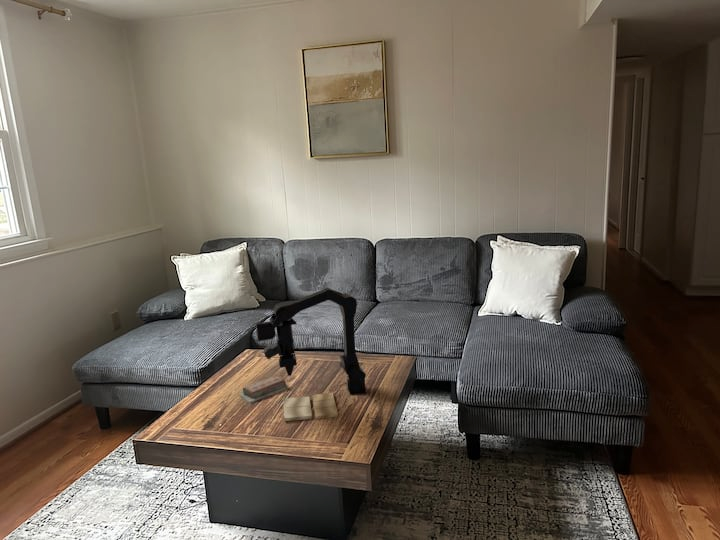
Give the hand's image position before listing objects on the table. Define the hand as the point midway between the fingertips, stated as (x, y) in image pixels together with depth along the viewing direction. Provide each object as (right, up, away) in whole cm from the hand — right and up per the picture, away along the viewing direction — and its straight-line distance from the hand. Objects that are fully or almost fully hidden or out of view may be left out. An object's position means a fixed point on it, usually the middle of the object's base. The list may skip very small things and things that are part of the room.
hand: (289, 375), depth 201 cm
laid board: (+14, -11, -2) cm, 18 cm away
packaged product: (-12, -10, +14) cm, 22 cm away
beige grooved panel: (+3, -12, -4) cm, 13 cm away
